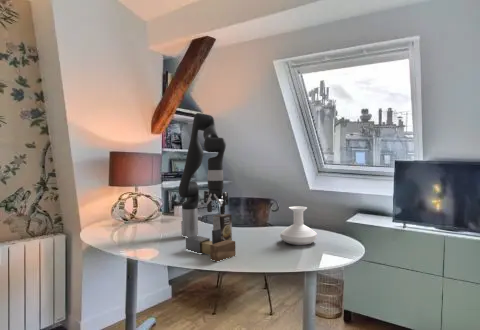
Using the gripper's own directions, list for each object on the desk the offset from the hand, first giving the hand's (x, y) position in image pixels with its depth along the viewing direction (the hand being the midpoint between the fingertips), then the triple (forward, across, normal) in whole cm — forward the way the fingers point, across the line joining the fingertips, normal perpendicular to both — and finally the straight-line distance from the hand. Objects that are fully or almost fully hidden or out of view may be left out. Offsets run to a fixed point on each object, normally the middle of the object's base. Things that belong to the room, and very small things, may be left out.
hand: (216, 213), depth 162 cm
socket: (+21, +4, 0) cm, 21 cm away
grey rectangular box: (+21, -13, 0) cm, 25 cm away
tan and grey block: (+20, -3, 0) cm, 20 cm away
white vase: (+21, +18, +46) cm, 54 cm away
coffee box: (+21, -13, +18) cm, 31 cm away
